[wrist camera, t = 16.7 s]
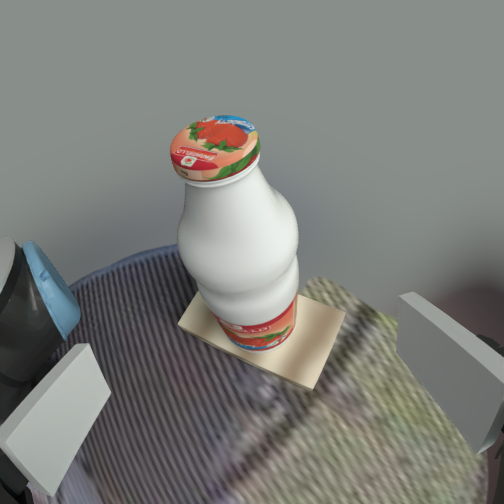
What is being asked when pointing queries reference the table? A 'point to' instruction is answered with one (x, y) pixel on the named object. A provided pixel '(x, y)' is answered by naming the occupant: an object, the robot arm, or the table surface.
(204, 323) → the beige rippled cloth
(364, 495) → the table surface
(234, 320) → the fruit juice
